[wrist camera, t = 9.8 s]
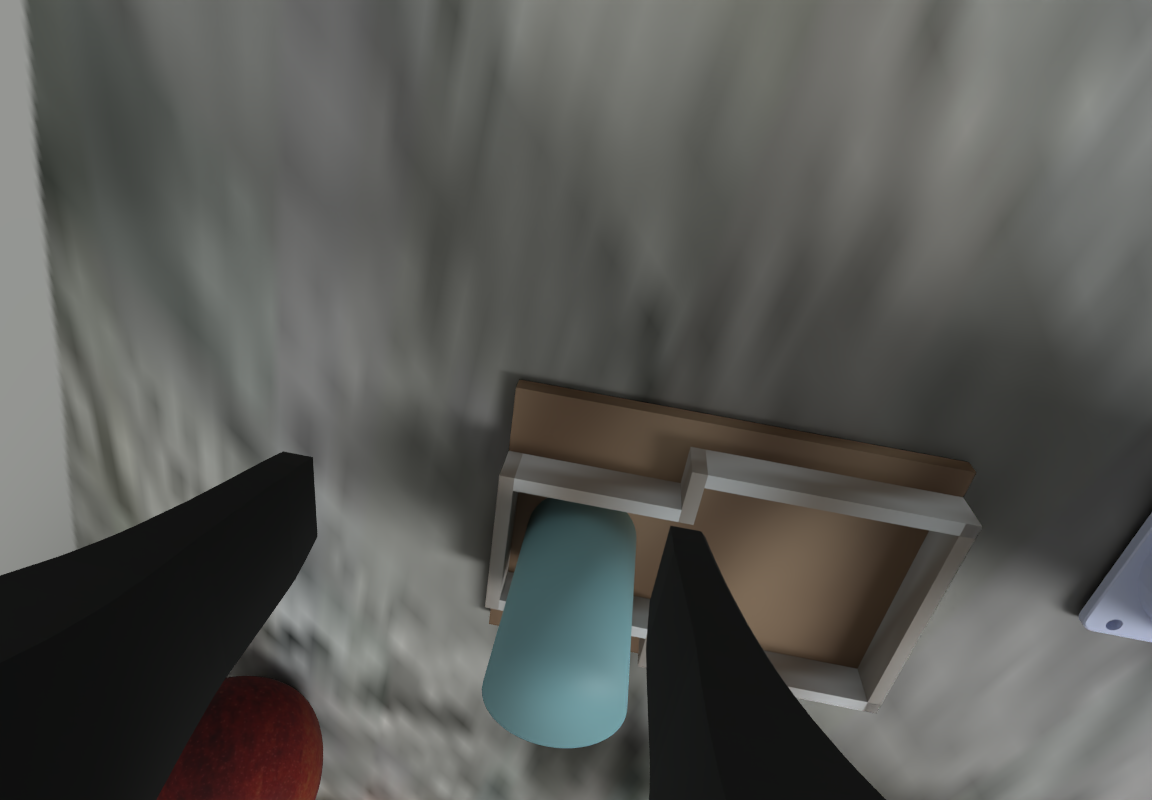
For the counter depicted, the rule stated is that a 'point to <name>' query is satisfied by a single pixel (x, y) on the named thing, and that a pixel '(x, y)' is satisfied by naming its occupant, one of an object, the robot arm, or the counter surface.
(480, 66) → the counter surface
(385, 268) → the counter surface
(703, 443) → the brown tray
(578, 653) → the peg
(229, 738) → the apple
